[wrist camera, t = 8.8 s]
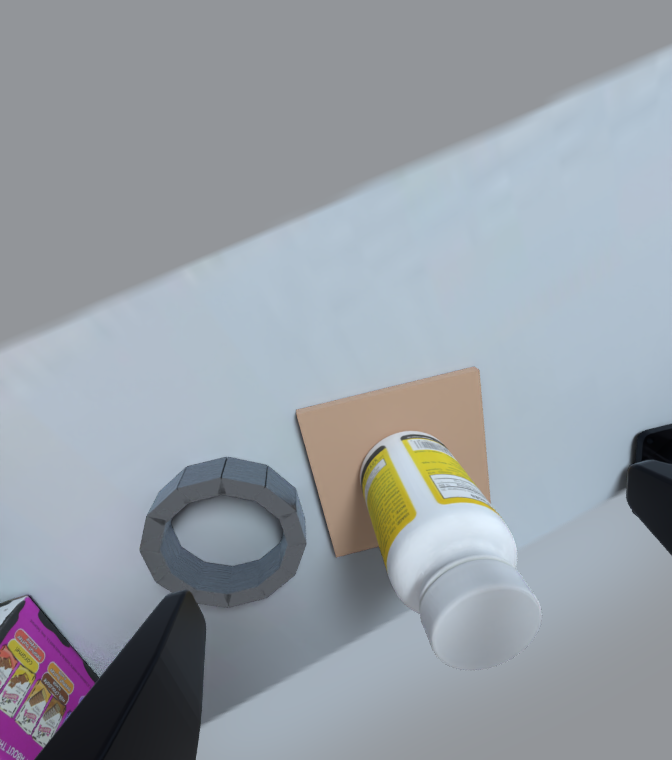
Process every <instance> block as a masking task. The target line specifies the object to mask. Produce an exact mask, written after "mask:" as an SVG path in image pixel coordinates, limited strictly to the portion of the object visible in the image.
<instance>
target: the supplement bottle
mask: <svg viewBox="0 0 672 760" xmlns="http://www.w3.org/2000/svg"><path fill="white" fill-rule="evenodd" d="M360 484H361V489H362V493H363V496H364V499H365V502H366V505H367V509H368V512H369V515H370V518H371V522H372V525H373V528H374V532H375V535H376V538H377V541H378V545H379V548H380V551H381V554H382V557H383V560H384V564H385V567H386V570H387V573H388V576H389V579H390V582H391V585H392V587H393V589H394V591H395V592H396V594H397V595H398V597H399V598H400V599H401V601H402V602H403V603H404V604H405V605H406V606H407V607H409V608H410V609H412V610H413V611H415V612H417V613H419V614H420V618H421V622H422V625H423V627H424V629H425V632H426V634H427V637H428V639H429V642H430V645H431V647H432V650H433V651H434V653H435V655H436V656H437V657H438V658H439V659H440V660H441V661H442V662H443V663H445V664H446V665H448V666H451V667H453V668H456V669H460V670H481V669H487V668H491V667H494V666H497V665H500V664H502V663H504V662H507V661H508V660H510V659H512V658H514V657H515V656H517V655H518V654H520V653H521V652H522V651H523V650H524V649H526V648H527V647H528V645H529V644H530V643H531V642H532V641H533V639H534V638H535V636H536V635H537V633H538V631H539V629H540V626H541V621H542V611H541V607H540V604H539V602H538V600H537V598H536V596H535V595H534V593H533V592H532V590H531V589H530V588H529V586H528V585H527V583H526V581H525V580H524V578H523V577H522V576H521V574H520V573H519V572H518V571H517V569H516V565H517V548H516V543H515V540H514V538H513V536H512V534H511V532H510V530H509V528H508V527H507V525H506V524H505V522H504V521H503V519H502V518H501V517H500V515H499V514H498V513H497V512H496V510H495V509H494V508H493V507H492V505H491V504H490V503H489V502H488V500H487V499H486V498H485V496H484V495H483V494H482V492H481V491H480V490H479V489H478V487H477V486H476V485H475V483H474V482H473V481H472V479H471V478H470V477H469V476H468V474H467V473H466V472H465V470H464V469H463V468H462V467H461V465H460V464H459V463H458V461H457V460H456V459H455V458H454V456H453V455H452V454H451V453H450V451H449V450H448V449H447V448H446V446H445V445H444V444H443V443H442V442H440V441H439V440H438V439H437V438H435V437H433V436H432V435H429V434H427V433H423V432H419V431H404V432H399V433H395V434H393V435H390V436H388V437H386V438H384V439H383V440H381V441H380V442H378V443H377V444H376V445H375V446H374V447H373V448H372V449H371V450H370V451H369V453H368V454H367V455H366V457H365V459H364V461H363V463H362V467H361V471H360Z"/></svg>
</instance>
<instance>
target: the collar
mask: <svg viewBox="0 0 672 760" xmlns="http://www.w3.org/2000/svg"><path fill="white" fill-rule="evenodd" d="M219 495H226V496H231V497H237V498H242V499H247V500H252V501H256V502H257V503H259V504H260V505H261V506H262V507H264V508H265V509H266V510H268V511H269V512H270V513H271V514H273V515H274V516H275V517H277V518H278V519H279V520H280V523H281V526H282V529H283V532H284V533H283V536H282V539H281V542H280V543H279V544H278V545H277V546H276V547H275V548H273V549H272V550H271V551H270V552H269V553H267V554H266V555H265V556H264V557H263V558H261V559H260V560H256V561H253V562H249V563H245V564H241V565H237V566H233V567H232V566H226V565H219V564H213V563H206V562H203V561H202V560H200V559H199V558H197V557H196V556H194V555H193V554H191V553H190V552H188V551H187V550H185V549H184V548H182V547H181V545H180V543H179V541H178V538H177V536H176V534H175V532H174V530H173V528H172V525H171V521H172V518H173V517H174V516H175V515H176V514H177V513H178V512H179V511H180V510H181V509H183V508H184V507H185V506H186V505H187V504H188V503H191V502H195V501H199V500H203V499H207V498H211V497H215V496H219ZM305 546H306V528H305V517H304V514H303V511H302V507H301V504H300V501H299V497H298V494H297V491H296V489H295V488H294V487H293V486H292V485H291V484H290V483H288V482H287V481H286V480H285V479H284V478H282V477H281V476H280V475H279V474H278V473H276V472H275V471H274V470H273V469H272V468H270V467H269V466H267V465H264V464H259V463H255V462H250V461H245V460H240V459H236V458H231V457H228V458H227V457H224V458H220V459H216V460H212V461H207V462H203V463H199V464H195V465H191V466H187V467H186V468H185V469H183V470H182V471H181V472H180V473H179V474H178V475H177V476H176V477H175V478H174V479H173V480H172V481H170V482H169V483H168V484H167V485H166V486H165V487H164V488H163V489H162V490H161V491H160V492H159V493H158V495H157V497H156V499H155V501H154V503H153V505H152V507H151V508H150V510H149V512H148V514H147V516H146V520H145V525H144V530H143V535H142V540H141V545H140V553H141V555H142V557H143V559H144V561H145V563H146V564H147V566H148V568H149V570H150V572H151V574H152V576H153V578H154V580H155V582H156V583H158V584H159V585H161V586H163V587H164V588H166V589H168V590H169V591H171V592H172V593H174V592H178V591H182V590H189V591H190V592H191V593H192V594H193V596H194V598H195V600H196V602H197V604H204V605H212V606H219V607H227V608H228V606H229V607H233V606H237V605H241V604H245V603H249V602H253V601H257V600H260V599H264V598H266V597H269V596H270V595H271V594H272V593H274V592H275V591H276V590H277V589H278V588H280V587H281V586H282V585H283V584H285V583H286V582H287V581H288V580H290V579H291V578H292V577H293V576H295V574H296V571H297V569H298V566H299V563H300V560H301V557H302V555H303V552H304V549H305Z"/></svg>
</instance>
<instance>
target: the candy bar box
mask: <svg viewBox="0 0 672 760" xmlns="http://www.w3.org/2000/svg"><path fill="white" fill-rule="evenodd" d="M98 679H99V678H98V677H97V676H96V674H95V673H94V672H93V671H92V670H91V668H90V667H89V666H88V665H87V664H86V663H85V662H84V660H83V659H82V658H81V657H80V656H79V654H78V653H77V652H76V651H75V650H74V649H73V648H72V646H71V645H70V644H69V643H68V642H67V640H66V639H65V638H64V637H63V636H62V635H61V633H60V632H59V631H58V630H57V629H56V628H55V627H54V626H53V624H52V623H51V622H50V621H49V620H48V618H47V617H46V616H45V615H44V614H43V613H42V611H41V610H40V609H39V608H38V607H37V606H36V605H35V603H34V602H33V601H32V600H31V599H30V597H29V596H27V595H25V596H21V597H18V598H15V599H11V600H8V601H6V602H3V603H0V760H34V759H35V758H36V756H37V755H38V754H39V753H40V752H41V750H42V749H43V748H44V747H45V745H46V744H47V743H48V742H49V740H50V739H51V738H52V737H53V735H54V734H55V733H56V732H57V730H58V729H59V728H60V727H61V725H62V724H63V723H64V722H65V720H66V719H67V718H68V717H69V715H70V714H71V713H72V712H73V710H74V709H75V708H76V707H77V705H78V704H79V703H80V702H81V700H82V699H83V698H84V697H85V695H86V694H87V693H88V692H89V690H90V689H91V688H92V687H93V685H94V684H95V683H96V682H97V680H98Z"/></svg>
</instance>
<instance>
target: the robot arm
mask: <svg viewBox="0 0 672 760" xmlns="http://www.w3.org/2000/svg"><path fill="white" fill-rule="evenodd" d="M626 498H627V502H628V504H629V506H630V508H631V509H632V512H633V513H634V514H635V515H636V516H637V517H639V519H640V520H641V521H642V522H643V523H644V524H645V526H646V527H647V528H648V529H649V530H650V531H651V532H652V534H653V535H654V536H655V537H656V538H657V539H658V540H659V541H660V543H661V544H662V545H663V546H664V547H665V548H666V550H667V551H668V552H669V553H670V554H671V555H672V424H669V425H665V426H661V427H657V428H653V429H649V430H645V431H643V432H642V433H640V435H639V436H638V439H637V451H636V463H635V464H632V465H631V466H630V467H629V468H628V472H627V490H626ZM205 642H206V623H205V619H204V616H203V614H202V612H201V610H200V608H199V606H198V604H197V602H196V600H195V598H194V596H193V594H192V593H191V592H190V591H189V590H182V591H178V592H174V593H171V594H168V595H167V596H165V597H164V598H163V599H162V601H161V602H160V603H159V604H158V606H157V607H156V608H155V609H154V611H153V612H152V613H151V614H150V616H149V617H148V618H147V619H146V621H145V622H144V623H143V624H142V626H141V627H140V628H139V629H138V631H137V632H136V633H135V634H134V636H133V637H132V638H131V639H130V641H129V642H128V643H127V644H126V646H125V647H124V648H123V649H122V651H121V652H120V653H119V654H118V656H117V657H116V658H115V659H114V661H113V662H112V663H111V664H110V666H109V667H108V668H107V669H106V671H105V672H104V673H103V674H102V676H101V677H100V678H99V679H98V680H97V682H96V683H95V684H94V685H93V687H92V688H91V689H90V690H89V692H88V693H87V694H86V695H85V697H84V698H83V699H82V700H81V702H80V703H79V704H78V705H77V707H76V708H75V709H74V710H73V712H72V713H71V714H70V715H69V717H68V718H67V719H66V720H65V722H64V723H63V724H62V725H61V727H60V728H59V729H58V730H57V732H56V733H55V734H54V735H53V737H52V738H51V739H50V740H49V742H48V743H47V744H46V745H45V747H44V748H43V749H42V750H41V752H40V753H39V754H38V755H37V756H36V758H35V759H34V760H196V754H197V747H198V740H199V732H200V724H201V712H202V696H203V678H204V660H205Z"/></svg>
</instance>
